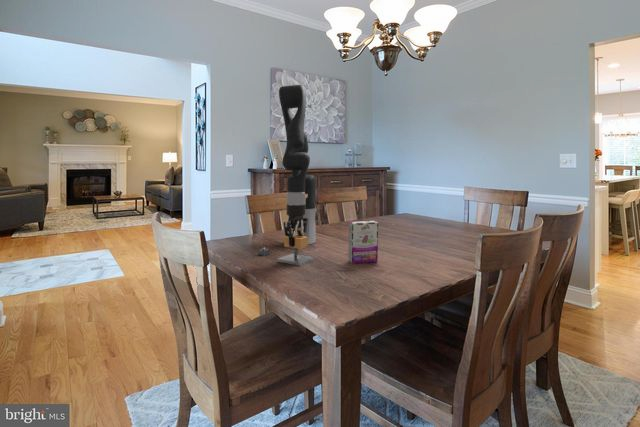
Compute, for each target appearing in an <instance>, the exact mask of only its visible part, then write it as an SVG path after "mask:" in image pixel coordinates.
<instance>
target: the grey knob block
mask: <svg viewBox="0 0 640 427" xmlns="http://www.w3.org/2000/svg"><path fill="white" fill-rule="evenodd" d="M257 253H258V254H257V256H263V257H264V256H267V255H270V249H269V248H266V247H261V249H258V250H257Z"/></svg>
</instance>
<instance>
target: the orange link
mask: <svg viewBox="0 0 640 427" xmlns="http://www.w3.org/2000/svg"><path fill="white" fill-rule="evenodd" d="M294 238H295V246H294V247H290V246H289V237H288V236H285V235H284V236H283V242H284V243H283V244H284V245H283V247H285V248H292V249H294V248H297V249H298V250H302V249H305V248H307V247H308V245H309V244H308V237H305V236H297V235H296V234H295V237H294Z"/></svg>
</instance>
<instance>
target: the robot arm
mask: <svg viewBox="0 0 640 427" xmlns="http://www.w3.org/2000/svg"><path fill="white" fill-rule="evenodd" d="M278 97H279V98H278V99H279V104H280V108H281V112H282V117H283V120H284V121H283V122H284V127H285V136H286V147H285V150H284V155H283V158H282V167H283V168H284V169H285V170H287V171H291V176H289V177H288V178H287V180H286V181H287V182H286V183H287V184H286V215H287V216H288V219H287V221H283V230H284V237H285V236H288V237H289V246H290V247H289V248H291V247H294V246H295V238H294V237H295V235H297V236H305V237H308V245H312V244H315V243H316V234H317V232H316V229H317V227H316V225H317V223H316V197H317V196H316V195H317V194H316V193H317V178H316V176H315V175H313V174H307V173H308V169H309V168H310V167H309V166H310V162H311V159H310V156H309V154H308V153H309V143H308V142H309V141H308V135H307V134H306V132H305V119H306V118H305V117H306V108H307V95H306V89H305V87H304V85H302V84H294V85H293V84H292V85H283V86H280V87H279V89H278ZM290 109H297V110H296V112H295V114H294V116H293V115H292V113H291V110H290ZM306 195H307V197H306Z"/></svg>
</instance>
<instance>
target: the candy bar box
mask: <svg viewBox="0 0 640 427" xmlns="http://www.w3.org/2000/svg"><path fill="white" fill-rule="evenodd" d="M378 250H379V222H378V221H375V220H362V221H360V220H359V221H348V256H347V257H348V262H349V263H351V264H352V265H353V264H355V265H356V264H367V263H369V262H370V263H377V262H378V259H379V258H378V257H379V256H378V255H379V254H378Z"/></svg>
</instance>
